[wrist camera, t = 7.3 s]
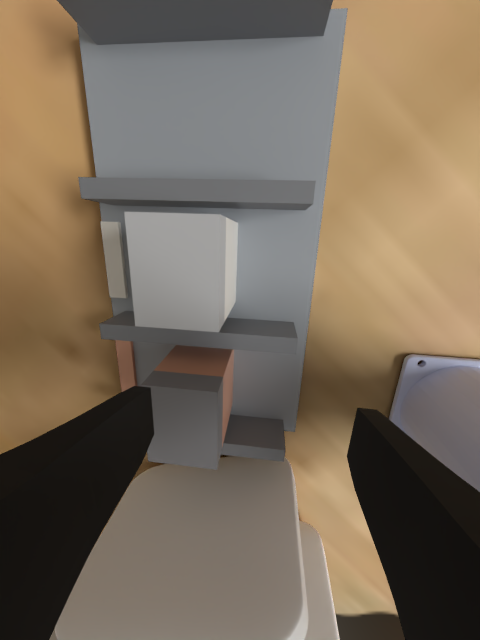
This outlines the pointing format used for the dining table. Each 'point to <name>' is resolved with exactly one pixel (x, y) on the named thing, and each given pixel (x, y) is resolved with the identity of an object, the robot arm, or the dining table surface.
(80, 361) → the dining table surface
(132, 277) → the grey rectangular block
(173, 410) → the brown and grey box
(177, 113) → the grey tiered rack
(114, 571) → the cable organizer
